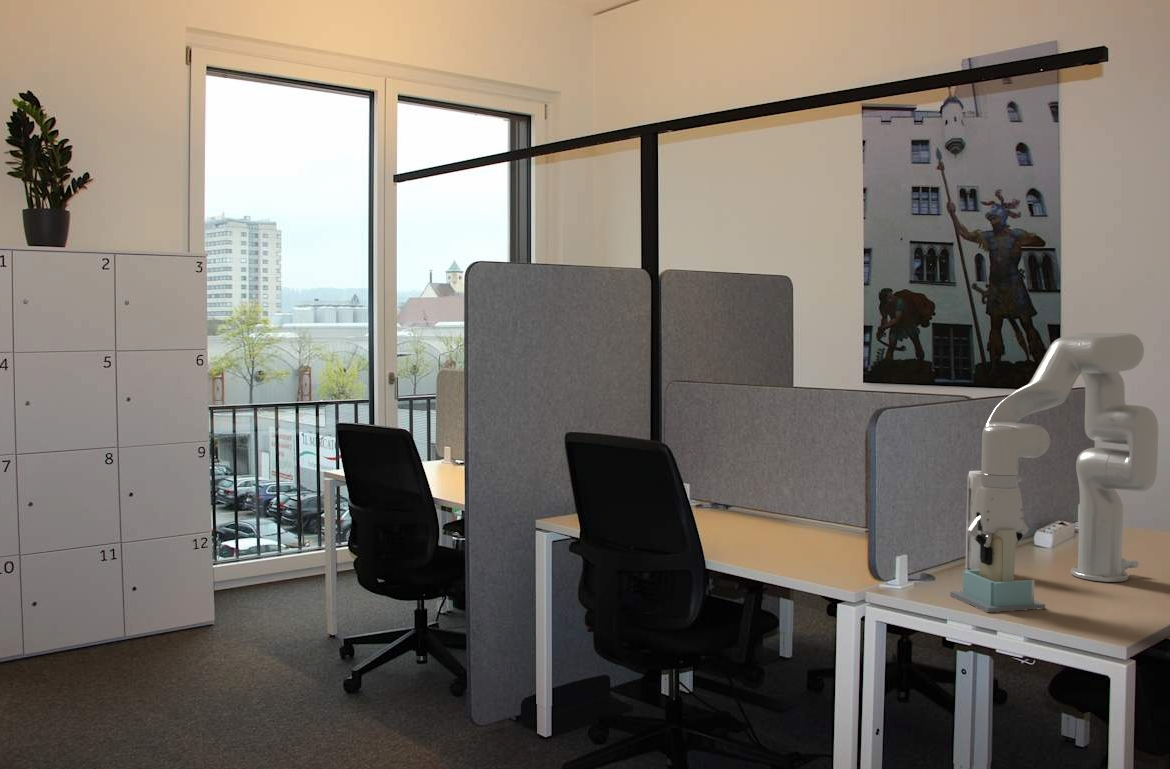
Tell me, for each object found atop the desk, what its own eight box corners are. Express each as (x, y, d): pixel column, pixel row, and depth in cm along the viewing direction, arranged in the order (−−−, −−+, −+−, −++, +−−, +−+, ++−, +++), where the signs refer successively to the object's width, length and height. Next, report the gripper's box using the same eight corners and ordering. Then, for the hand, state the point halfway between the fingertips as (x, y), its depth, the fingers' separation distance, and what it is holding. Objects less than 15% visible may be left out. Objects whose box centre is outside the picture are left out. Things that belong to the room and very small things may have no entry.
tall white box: (995, 574, 247) (997, 473, 246) (967, 572, 249) (969, 473, 247) (990, 567, 254) (992, 470, 252) (963, 566, 255) (965, 469, 254)
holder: (1004, 592, 230) (1005, 566, 230) (1045, 608, 217) (1045, 581, 216) (950, 595, 227) (950, 569, 227) (987, 612, 214) (988, 585, 213)
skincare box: (978, 579, 224) (979, 525, 223) (993, 577, 225) (994, 524, 225) (1000, 586, 218) (1001, 531, 217) (1015, 584, 220) (1016, 529, 219)
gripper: (1022, 478, 226) (1020, 557, 227) (955, 480, 222) (953, 561, 223) (1044, 483, 219) (1042, 565, 220) (975, 485, 215) (973, 569, 216)
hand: (997, 562), depth 221 cm, fingers closed on skincare box, 4 cm apart
